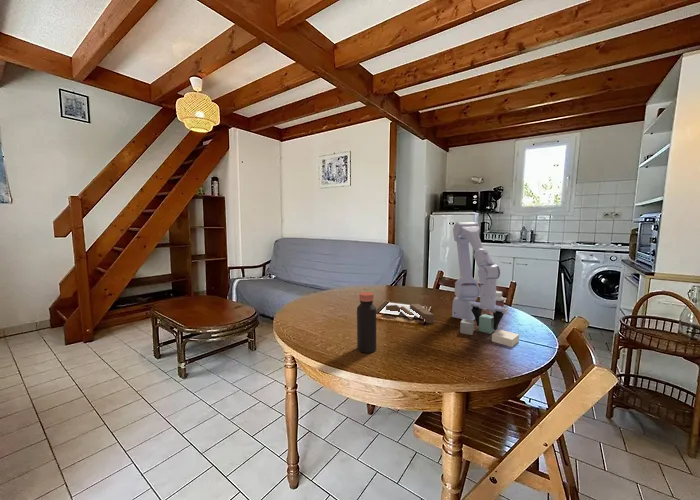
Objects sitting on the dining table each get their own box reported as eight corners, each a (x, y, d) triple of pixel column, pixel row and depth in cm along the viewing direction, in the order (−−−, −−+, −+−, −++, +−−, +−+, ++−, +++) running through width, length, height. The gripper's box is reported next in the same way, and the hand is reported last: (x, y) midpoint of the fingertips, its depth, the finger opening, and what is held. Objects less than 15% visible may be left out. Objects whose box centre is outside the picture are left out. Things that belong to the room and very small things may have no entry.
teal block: (478, 330, 120) (479, 316, 119) (483, 328, 123) (483, 314, 122) (490, 333, 117) (490, 319, 116) (494, 330, 120) (495, 316, 119)
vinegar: (370, 355, 99) (370, 297, 97) (353, 350, 103) (353, 294, 101) (379, 347, 105) (379, 292, 103) (363, 343, 108) (362, 290, 106)
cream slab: (491, 342, 109) (492, 334, 109) (499, 336, 114) (499, 329, 114) (512, 347, 104) (512, 339, 104) (518, 342, 109) (519, 334, 109)
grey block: (460, 333, 118) (460, 322, 117) (462, 329, 122) (462, 319, 121) (472, 335, 115) (472, 324, 115) (473, 331, 119) (474, 320, 119)
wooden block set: (417, 301, 146) (435, 311, 129) (417, 312, 147) (434, 324, 129) (385, 303, 143) (398, 314, 125) (385, 314, 144) (398, 327, 126)
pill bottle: (506, 315, 139) (507, 292, 138) (498, 317, 136) (499, 294, 134) (493, 311, 144) (494, 289, 143) (486, 314, 141) (486, 291, 140)
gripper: (465, 293, 121) (465, 325, 122) (503, 299, 110) (502, 334, 112) (473, 290, 126) (472, 321, 127) (510, 296, 115) (508, 329, 116)
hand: (486, 327), depth 120 cm, fingers open, 6 cm apart
